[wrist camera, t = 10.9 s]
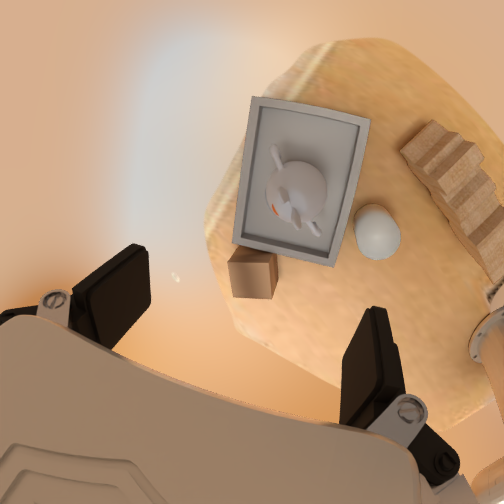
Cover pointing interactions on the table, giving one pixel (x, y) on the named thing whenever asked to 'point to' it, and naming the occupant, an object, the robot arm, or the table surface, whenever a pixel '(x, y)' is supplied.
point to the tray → (306, 150)
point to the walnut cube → (253, 273)
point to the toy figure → (295, 192)
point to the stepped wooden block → (461, 192)
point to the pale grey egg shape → (376, 232)
